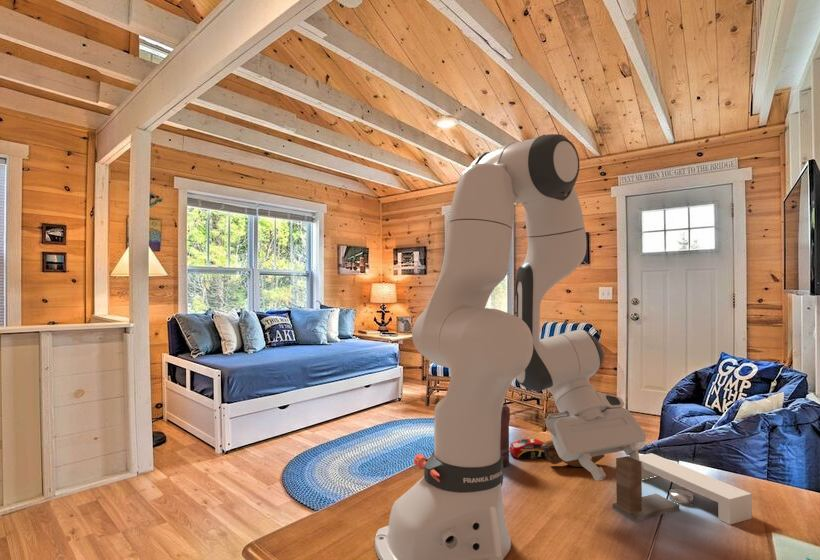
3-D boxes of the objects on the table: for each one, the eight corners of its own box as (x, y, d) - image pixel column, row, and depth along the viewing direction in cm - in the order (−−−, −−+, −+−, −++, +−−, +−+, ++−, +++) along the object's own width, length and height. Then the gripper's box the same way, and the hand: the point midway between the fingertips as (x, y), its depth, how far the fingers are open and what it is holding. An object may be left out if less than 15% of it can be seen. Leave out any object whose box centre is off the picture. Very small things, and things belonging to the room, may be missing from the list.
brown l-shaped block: (634, 522, 79) (633, 466, 79) (612, 509, 84) (611, 456, 84) (679, 510, 83) (678, 457, 83) (656, 498, 88) (655, 448, 88)
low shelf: (729, 524, 78) (729, 499, 78) (632, 477, 98) (631, 456, 98) (751, 518, 80) (751, 493, 80) (651, 473, 100) (651, 453, 100)
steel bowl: (683, 508, 84) (683, 499, 84) (664, 498, 88) (664, 490, 88) (697, 504, 86) (697, 496, 86) (678, 495, 90) (678, 487, 90)
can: (510, 469, 102) (510, 408, 102) (482, 467, 103) (482, 407, 103) (509, 459, 108) (509, 402, 108) (483, 457, 109) (483, 400, 109)
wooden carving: (549, 472, 100) (549, 428, 100) (540, 464, 105) (539, 422, 105) (613, 466, 103) (613, 424, 104) (601, 459, 108) (601, 418, 108)
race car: (558, 452, 113) (558, 436, 113) (566, 460, 108) (566, 444, 108) (507, 452, 113) (507, 436, 113) (512, 460, 108) (512, 444, 108)
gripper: (548, 406, 86) (585, 476, 77) (626, 396, 94) (669, 459, 85) (534, 423, 91) (568, 491, 81) (610, 412, 98) (649, 473, 89)
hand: (620, 474), depth 83 cm, fingers open, 8 cm apart
